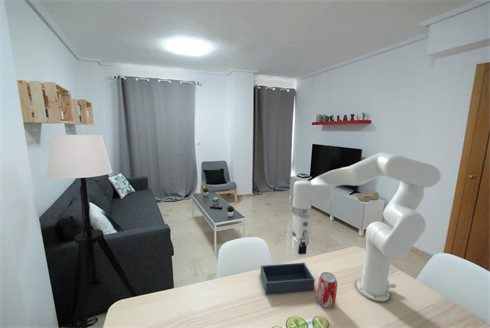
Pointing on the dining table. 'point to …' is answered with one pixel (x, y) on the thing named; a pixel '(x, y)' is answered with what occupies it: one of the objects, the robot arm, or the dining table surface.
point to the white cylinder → (296, 246)
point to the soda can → (327, 290)
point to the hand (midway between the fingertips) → (298, 248)
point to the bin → (286, 278)
